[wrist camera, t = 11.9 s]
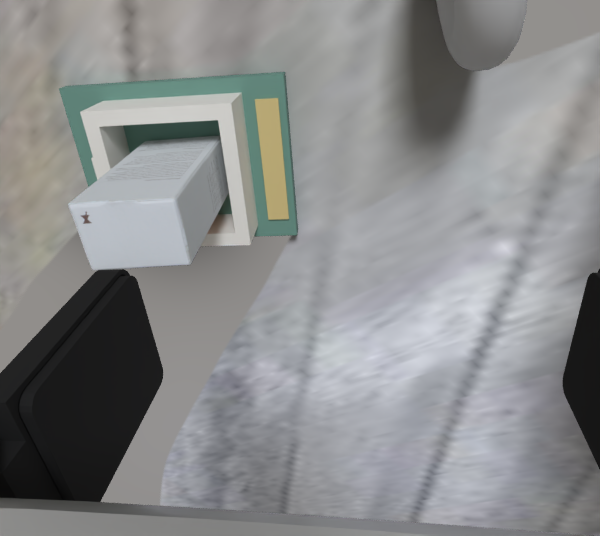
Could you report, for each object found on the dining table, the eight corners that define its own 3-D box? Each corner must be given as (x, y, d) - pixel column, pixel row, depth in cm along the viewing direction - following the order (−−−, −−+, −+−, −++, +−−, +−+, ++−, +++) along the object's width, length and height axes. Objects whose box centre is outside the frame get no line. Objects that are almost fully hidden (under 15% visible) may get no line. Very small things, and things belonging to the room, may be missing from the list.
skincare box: (158, 194, 38) (88, 272, 27) (144, 139, 36) (62, 202, 25) (235, 189, 37) (192, 268, 27) (225, 133, 35) (174, 195, 25)
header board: (285, 71, 34) (276, 83, 30) (298, 229, 39) (292, 256, 36) (65, 86, 35) (31, 98, 31) (110, 235, 41) (85, 261, 37)
